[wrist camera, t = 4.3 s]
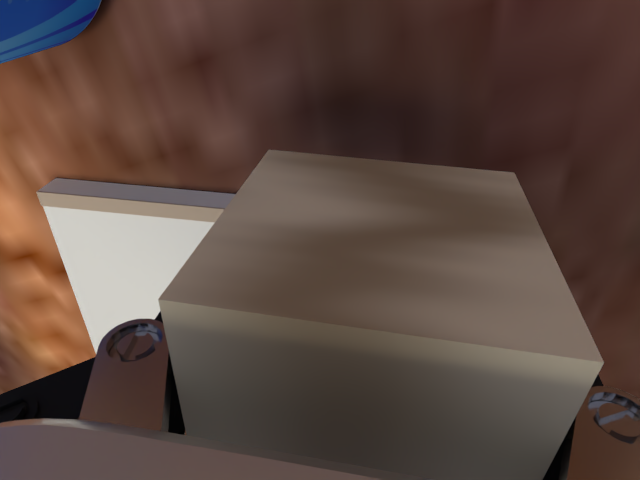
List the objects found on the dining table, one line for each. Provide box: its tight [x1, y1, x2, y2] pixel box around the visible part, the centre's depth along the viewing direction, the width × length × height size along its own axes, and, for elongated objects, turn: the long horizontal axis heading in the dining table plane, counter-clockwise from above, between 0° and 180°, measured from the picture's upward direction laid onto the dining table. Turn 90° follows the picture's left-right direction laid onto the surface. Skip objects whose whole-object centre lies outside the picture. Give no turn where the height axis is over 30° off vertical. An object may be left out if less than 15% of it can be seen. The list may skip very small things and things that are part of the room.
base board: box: [37, 178, 236, 354], centre depth 27 cm, size 14×14×2 cm
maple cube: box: [158, 150, 604, 480], centre depth 10 cm, size 6×6×6 cm
